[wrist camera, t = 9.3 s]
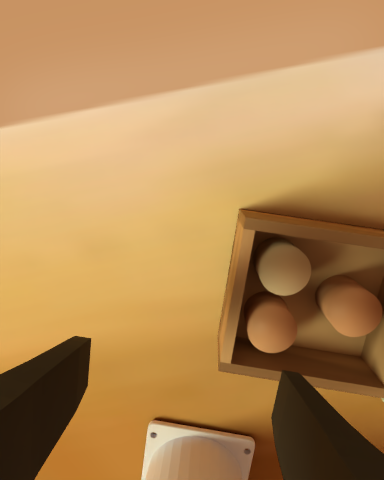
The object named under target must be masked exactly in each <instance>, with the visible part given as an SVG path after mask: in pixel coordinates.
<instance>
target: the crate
mask: <svg viewBox="0 0 384 480" xmlns="http://www.w3.org/2000/svg"><path fill="white" fill-rule="evenodd" d="M218 370H219V371H221V372H227V373H233V374H239V375H245V376H251V377H257V378H263V379H269V380H275V381H280V377H281V373H282V370H286V371H292V372H298V373H300V374H301V375H302V376H303V377H304V378H305V379H306V380H307V381H308V382H309V383H310V384H311V385H312V386H313V387H318V388H324V389H330V390H336V391H342V392H348V393H354V394H360V395H366V396H372V397H378V398H384V230H381V229H375V228H368V227H361V226H354V225H347V224H340V223H333V222H326V221H319V220H312V219H306V218H299V217H292V216H285V215H278V214H271V213H264V212H257V211H250V210H243V209H239V214H238V220H237V226H236V232H235V238H234V243H233V249H232V255H231V261H230V267H229V273H228V279H227V284H226V290H225V296H224V302H223V308H222V314H221V320H220V325H219V331H218Z"/></svg>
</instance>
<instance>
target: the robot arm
mask: <svg viewBox="0 0 384 480" xmlns="http://www.w3.org/2000/svg"><path fill="white" fill-rule="evenodd" d="M90 347H91V338H85V337H79V336H74V337H72V338H70V339H68V340H66V341H64V342H62V343H61V344H59V345H57V346H55V347H53V348H52V349H50V350H48V351H46V352H44V353H42V354H40V355H39V356H37V357H35V358H33V359H31V360H29V361H27V362H25V363H23V364H21V365H19V366H17V367H15V368H13V369H11V370H8V371H6V372H4V373H2V374H0V480H34V479H35V477H36V476H37V474H38V472H39V471H40V469H41V467H42V466H43V464H44V463H45V461H46V459H47V458H48V456H49V454H50V453H51V451H52V450H53V448H54V446H55V445H56V443H57V442H58V440H59V438H60V437H61V435H62V433H63V432H64V430H65V429H66V427H67V425H68V424H69V422H70V420H71V419H72V417H73V415H74V414H75V412H76V410H77V408H78V406H79V404H80V402H81V399H82V397H83V395H84V393H85V390H86V388H87V386H88V373H89V360H90ZM272 425H273V434H274V441H275V447H276V451H277V455H278V459H279V463H280V467H281V471H282V475H283V479H284V480H384V454H383V453H382V452H381V451H380V450H378V449H377V448H376V447H375V446H374V445H372V444H371V443H370V442H369V441H368V440H367V439H365V438H364V437H363V436H362V435H361V434H360V433H359V432H358V431H357V430H356V429H355V428H353V427H352V426H351V425H350V424H349V423H348V422H347V421H346V420H345V419H344V418H343V417H342V416H341V415H340V414H339V413H338V412H337V411H336V410H335V409H334V408H333V407H332V406H331V405H330V404H329V403H328V402H327V401H326V400H325V399H324V398H323V397H322V396H321V395H320V394H319V393H318V391H317V390H316V389H315V388H314V387H313V386H312V385H311V384H310V383H309V382H308V381H307V380H306V379H305V378H304V377H303V376H302V375H301V374H300V373H298V372H292V371H286V370H282V373H281V377H280V382H279V386H278V391H277V395H276V400H275V404H274V408H273V413H272ZM152 432H154V433H156V434H153V433H152ZM245 449H249V450H245ZM254 449H255V441H254V439H253V438H252V437H249V436H243V435H238V434H232V433H226V432H220V431H215V430H209V429H203V428H197V427H191V426H186V425H180V424H174V423H168V422H162V421H157V420H153V421H151V422H150V423H149V426H148V431H147V439H146V447H145V455H144V463H143V470H142V478H141V480H248V477H249V472H250V468H251V463H252V458H253V454H254Z"/></svg>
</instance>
